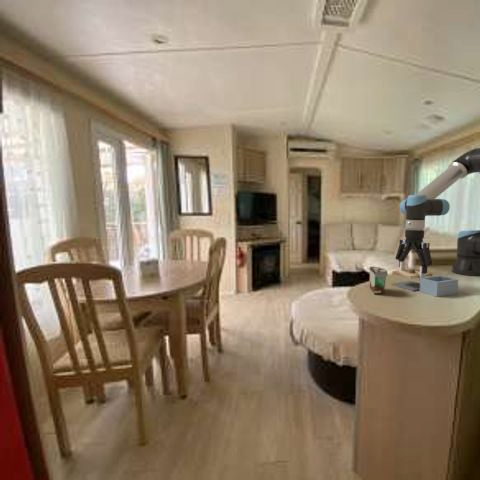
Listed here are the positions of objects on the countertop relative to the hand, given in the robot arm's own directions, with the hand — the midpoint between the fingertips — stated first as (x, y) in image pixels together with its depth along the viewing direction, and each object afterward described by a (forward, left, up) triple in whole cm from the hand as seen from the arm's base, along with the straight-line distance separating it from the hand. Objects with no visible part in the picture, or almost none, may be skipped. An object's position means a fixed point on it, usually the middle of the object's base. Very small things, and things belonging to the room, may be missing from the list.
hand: (411, 277), depth 144 cm
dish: (-2, +12, -4) cm, 12 cm away
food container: (+20, +1, -4) cm, 20 cm away
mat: (0, 0, -4) cm, 4 cm away
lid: (0, 0, +1) cm, 1 cm away
